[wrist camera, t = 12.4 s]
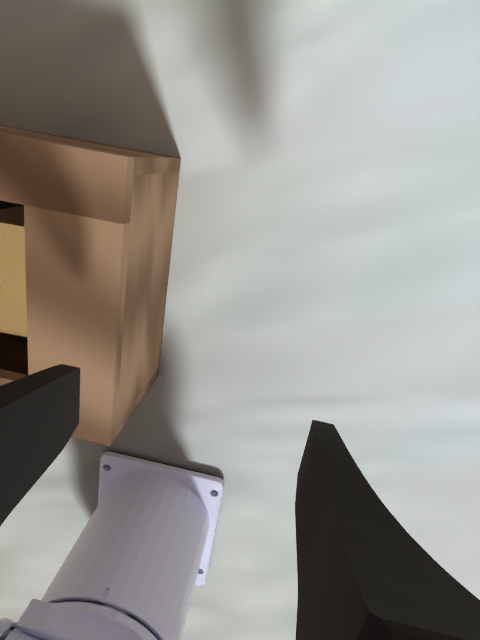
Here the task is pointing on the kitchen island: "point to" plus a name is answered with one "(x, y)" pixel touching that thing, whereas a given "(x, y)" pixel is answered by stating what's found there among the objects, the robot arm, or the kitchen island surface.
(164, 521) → the robot arm
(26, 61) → the kitchen island surface
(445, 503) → the kitchen island surface
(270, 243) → the kitchen island surface
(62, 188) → the brown square open block
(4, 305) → the wooden block
